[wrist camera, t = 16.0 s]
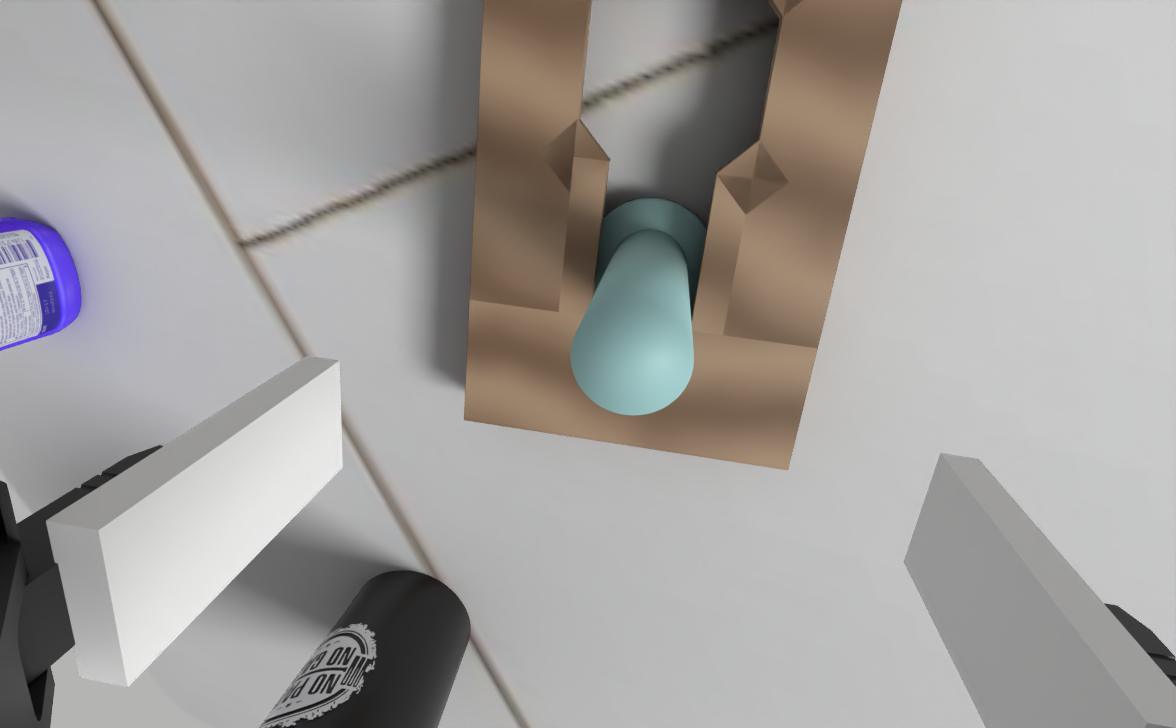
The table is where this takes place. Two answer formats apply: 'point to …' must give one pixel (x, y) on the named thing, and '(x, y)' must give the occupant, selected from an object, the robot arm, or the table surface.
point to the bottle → (34, 282)
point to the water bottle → (382, 660)
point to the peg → (641, 308)
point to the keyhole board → (732, 242)
